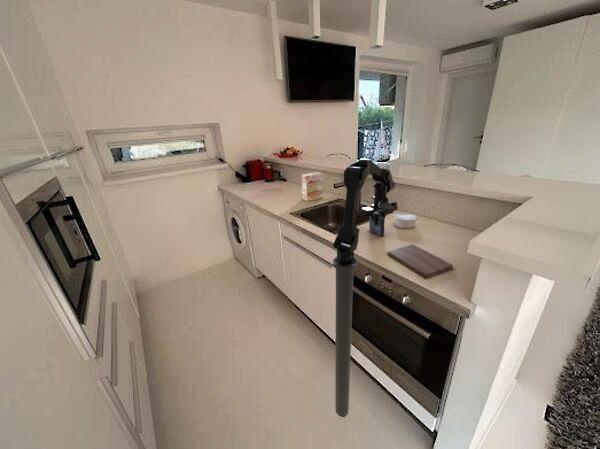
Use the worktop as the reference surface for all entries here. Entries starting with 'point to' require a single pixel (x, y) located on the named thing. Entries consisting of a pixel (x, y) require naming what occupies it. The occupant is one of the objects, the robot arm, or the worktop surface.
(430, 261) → the serving board
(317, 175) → the coffeecake box
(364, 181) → the robot arm
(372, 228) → the flask
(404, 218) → the ramekin
